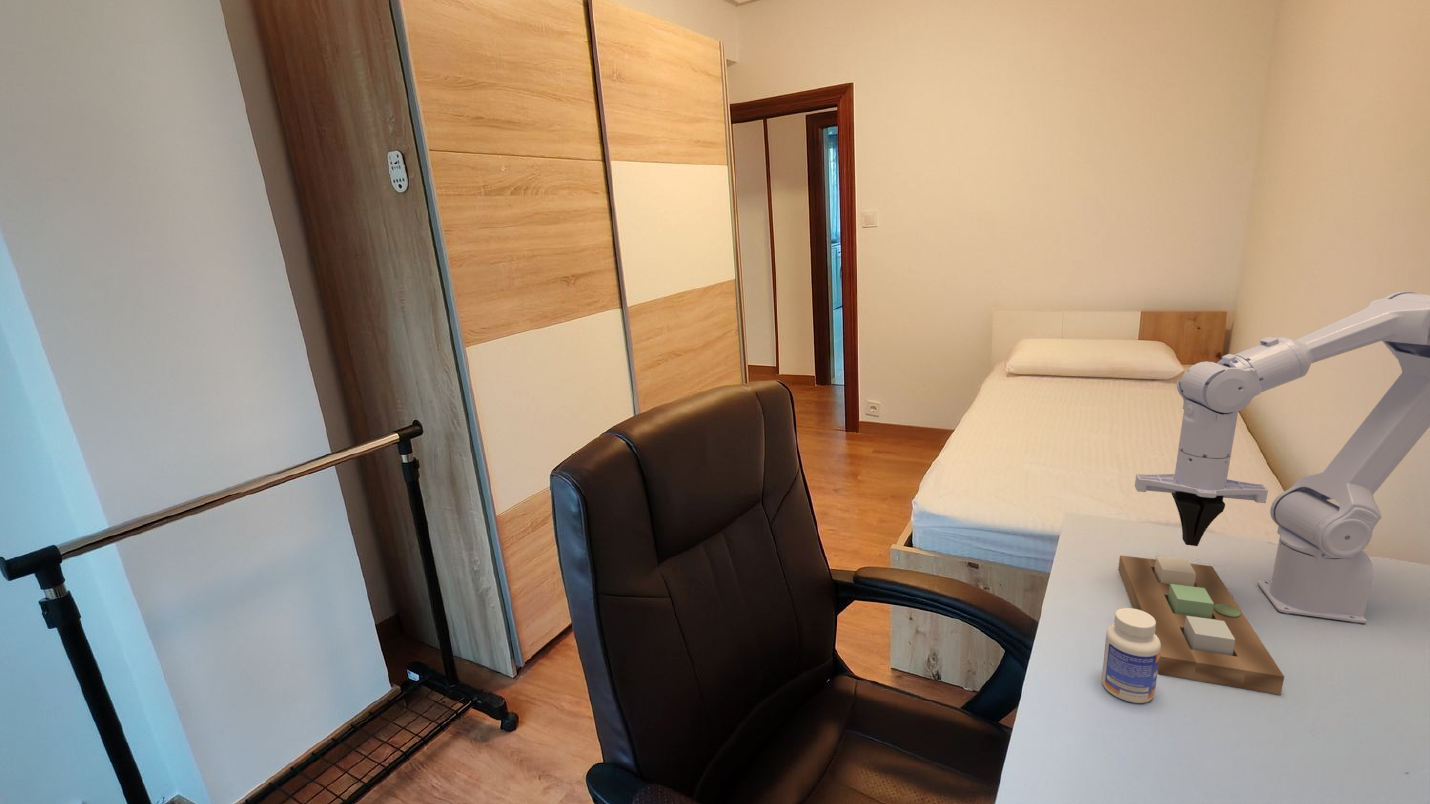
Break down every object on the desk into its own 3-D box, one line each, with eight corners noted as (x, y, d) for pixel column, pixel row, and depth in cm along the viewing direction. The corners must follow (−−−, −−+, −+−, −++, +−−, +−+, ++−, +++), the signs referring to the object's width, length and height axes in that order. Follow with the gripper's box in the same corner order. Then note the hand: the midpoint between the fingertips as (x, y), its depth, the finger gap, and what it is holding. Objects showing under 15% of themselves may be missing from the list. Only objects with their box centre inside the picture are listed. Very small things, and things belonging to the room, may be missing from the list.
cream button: (1185, 578, 96) (1188, 560, 95) (1193, 592, 93) (1196, 573, 92) (1153, 574, 98) (1156, 556, 97) (1160, 587, 94) (1162, 569, 93)
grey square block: (1220, 641, 82) (1224, 621, 81) (1231, 661, 78) (1235, 639, 78) (1183, 636, 83) (1186, 615, 83) (1191, 654, 80) (1195, 633, 79)
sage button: (1201, 607, 89) (1204, 588, 88) (1210, 623, 86) (1214, 603, 85) (1167, 602, 91) (1169, 583, 90) (1174, 618, 87) (1177, 599, 86)
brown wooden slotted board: (1209, 581, 98) (1212, 564, 97) (1280, 695, 75) (1284, 674, 74) (1118, 569, 102) (1120, 553, 102) (1158, 674, 79) (1161, 654, 78)
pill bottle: (1162, 707, 74) (1173, 633, 71) (1110, 702, 75) (1119, 629, 72) (1142, 675, 79) (1152, 605, 76) (1093, 671, 80) (1102, 602, 78)
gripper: (1147, 456, 86) (1135, 548, 90) (1283, 466, 81) (1265, 563, 84) (1136, 440, 93) (1126, 526, 96) (1262, 448, 87) (1246, 539, 91)
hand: (1190, 542), depth 91 cm, fingers closed
